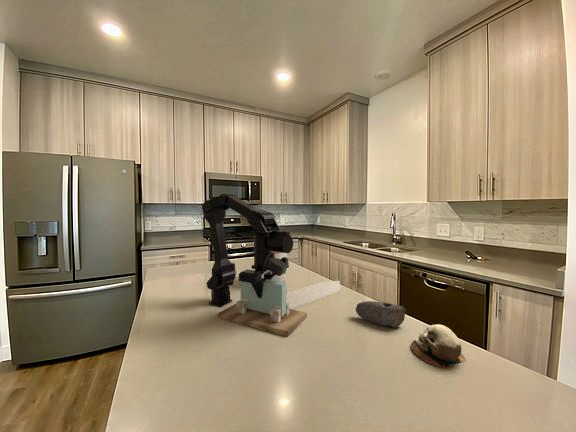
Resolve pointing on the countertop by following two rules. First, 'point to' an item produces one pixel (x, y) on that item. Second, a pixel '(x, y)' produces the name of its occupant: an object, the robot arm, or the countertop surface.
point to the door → (265, 296)
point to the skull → (438, 347)
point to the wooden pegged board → (264, 318)
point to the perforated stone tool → (381, 313)
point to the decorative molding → (311, 293)
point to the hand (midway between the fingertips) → (262, 296)
